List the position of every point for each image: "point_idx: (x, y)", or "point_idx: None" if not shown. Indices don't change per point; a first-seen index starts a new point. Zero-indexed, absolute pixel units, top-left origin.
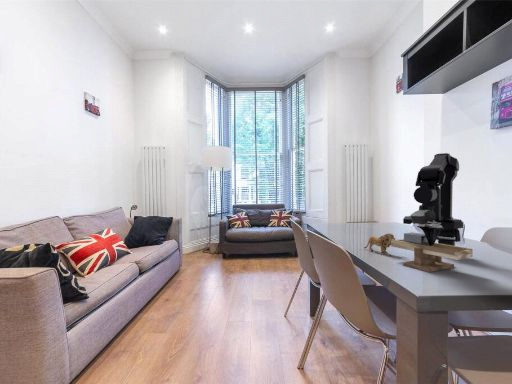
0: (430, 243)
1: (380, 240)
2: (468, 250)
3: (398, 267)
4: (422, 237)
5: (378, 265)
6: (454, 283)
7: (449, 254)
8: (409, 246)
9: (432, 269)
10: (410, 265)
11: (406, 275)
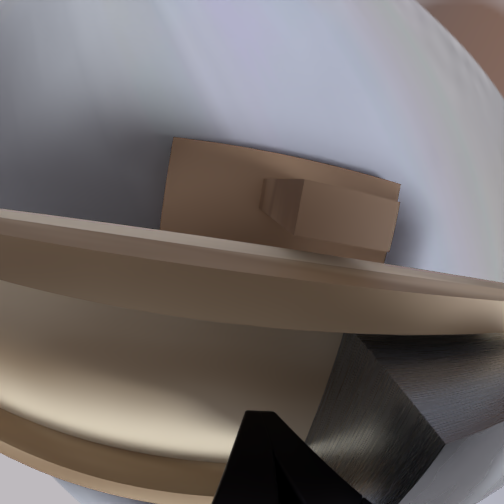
0: (259, 430)
1: None
2: None
3: (378, 103)
4: (409, 448)
5: (456, 73)
6: (11, 62)
7: None
8: (461, 283)
9: (167, 183)
10: (337, 167)
11: None
